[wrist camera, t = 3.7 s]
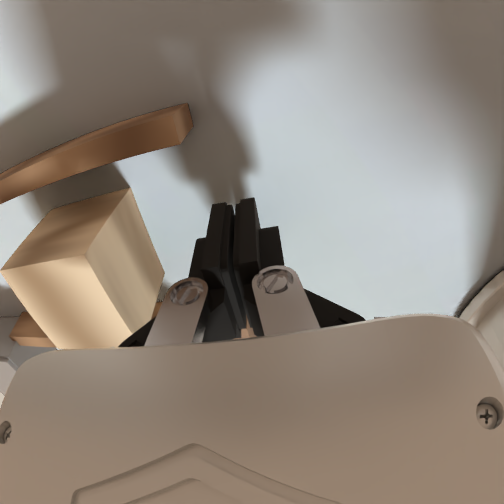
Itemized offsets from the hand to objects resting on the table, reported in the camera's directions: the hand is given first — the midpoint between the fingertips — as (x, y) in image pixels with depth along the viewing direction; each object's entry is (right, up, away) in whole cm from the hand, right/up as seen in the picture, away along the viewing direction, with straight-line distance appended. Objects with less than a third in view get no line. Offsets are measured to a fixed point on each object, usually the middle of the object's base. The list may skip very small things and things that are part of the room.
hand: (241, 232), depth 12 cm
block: (-7, 0, +2) cm, 7 cm away
